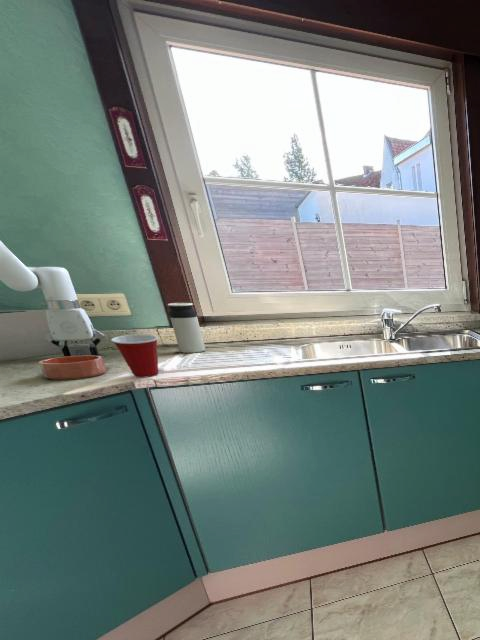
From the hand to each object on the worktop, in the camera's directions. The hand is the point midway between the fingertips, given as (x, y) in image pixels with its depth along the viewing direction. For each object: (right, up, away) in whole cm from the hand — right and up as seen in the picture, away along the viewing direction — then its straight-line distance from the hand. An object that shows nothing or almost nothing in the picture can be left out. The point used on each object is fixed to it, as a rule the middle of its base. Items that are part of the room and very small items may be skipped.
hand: (82, 357), depth 173 cm
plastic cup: (+39, -9, -17) cm, 43 cm away
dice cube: (0, -1, 0) cm, 1 cm away
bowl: (+20, -9, -20) cm, 30 cm away
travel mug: (+23, +6, +19) cm, 31 cm away
